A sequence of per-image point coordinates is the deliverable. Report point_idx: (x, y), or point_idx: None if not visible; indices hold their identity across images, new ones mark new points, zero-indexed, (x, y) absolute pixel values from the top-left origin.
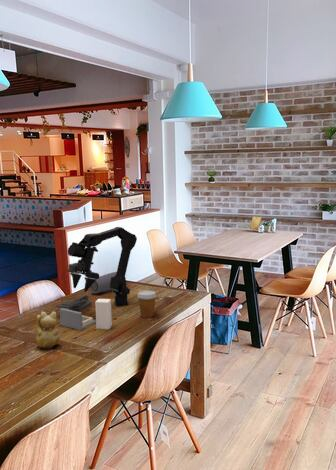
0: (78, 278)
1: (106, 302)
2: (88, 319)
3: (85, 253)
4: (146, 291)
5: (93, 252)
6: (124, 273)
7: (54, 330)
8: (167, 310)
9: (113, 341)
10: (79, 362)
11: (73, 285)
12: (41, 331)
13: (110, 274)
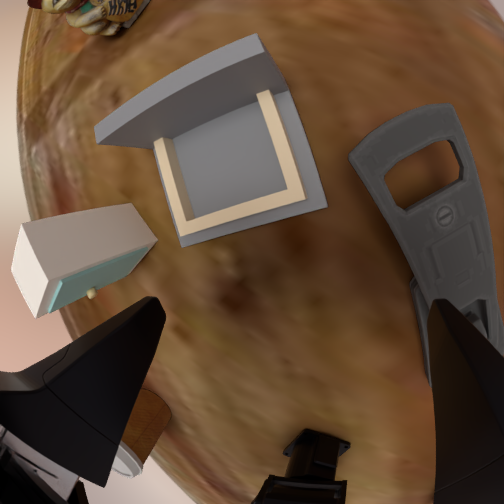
0: (448, 485)
1: (12, 265)
2: (173, 203)
3: None
4: (125, 470)
5: None
6: None
7: (66, 14)
8: (163, 446)
9: (50, 194)
10: (38, 82)
11: (460, 319)
12: None
13: None
